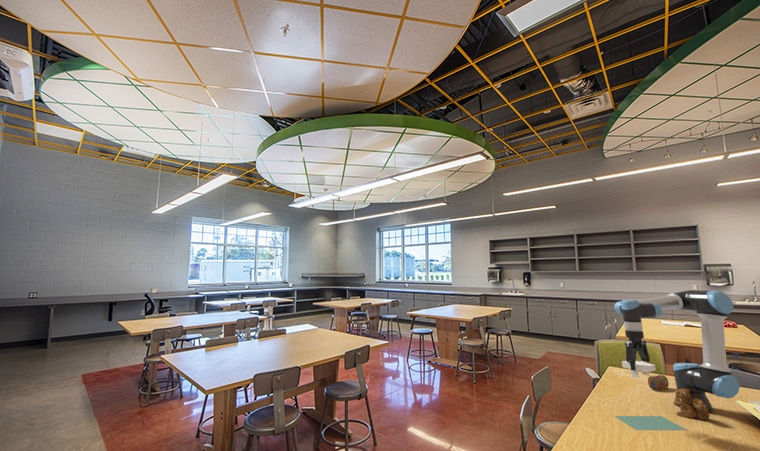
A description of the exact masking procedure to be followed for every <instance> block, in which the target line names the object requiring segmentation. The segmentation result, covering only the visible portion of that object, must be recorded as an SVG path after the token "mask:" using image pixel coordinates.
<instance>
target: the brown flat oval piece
mask: <svg viewBox="0 0 760 451" xmlns="http://www.w3.org/2000/svg"><path fill="white" fill-rule="evenodd" d="M647 385H648V387H649V388H650V389H651V390H653V391H663V390H667V389H668V388H669V380H668V378H667V376H665V375H662V374H655V375H649V376H648V378H647ZM662 389H663V390H662Z"/></svg>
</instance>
